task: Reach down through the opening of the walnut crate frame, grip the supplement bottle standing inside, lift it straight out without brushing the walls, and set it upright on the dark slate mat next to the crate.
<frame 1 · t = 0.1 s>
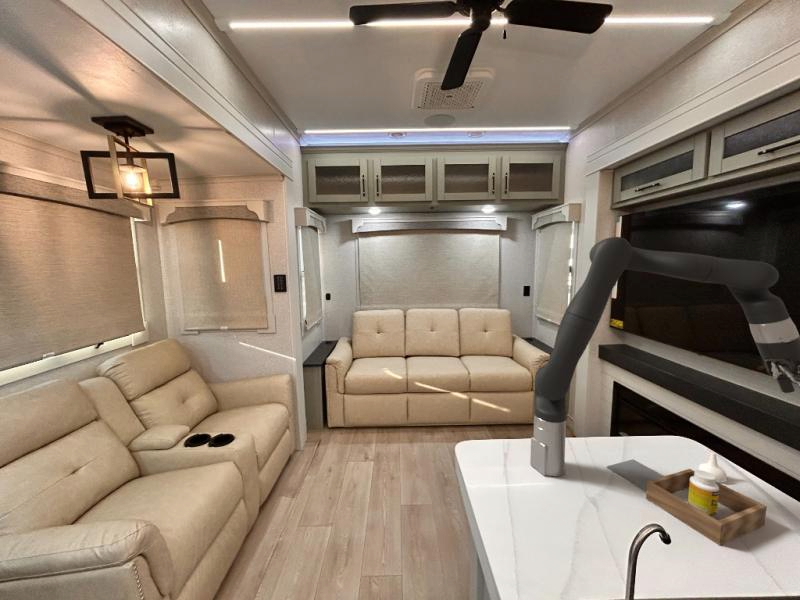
crate frame: (702, 511, 83), on the kitchen island
garlic bulb: (711, 478, 96), on the kitchen island
supplement bottle: (701, 512, 83), resting in crate frame
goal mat: (639, 474, 98), on the kitchen island
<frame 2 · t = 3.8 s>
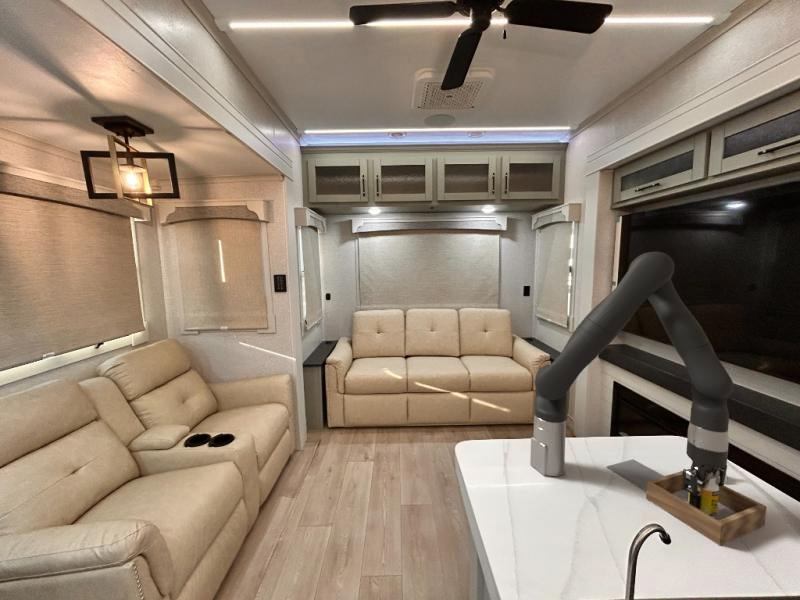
hand: (702, 503, 82), 2 cm above the kitchen island, tool pointing down, fingers closed on supplement bottle, 5 cm apart
supplement bottle: (702, 512, 83), resting in crate frame, touching gripper
everything else where it was.
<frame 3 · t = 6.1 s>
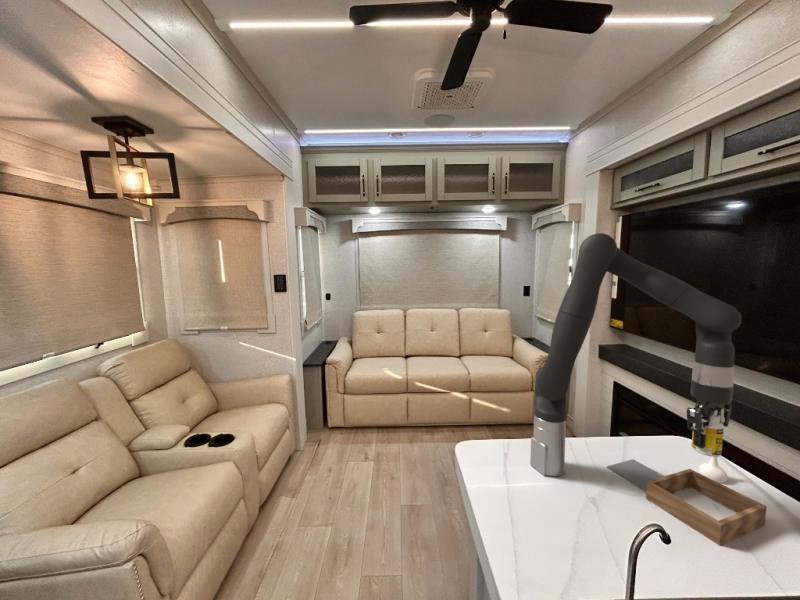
hand: (706, 444, 81), 18 cm above the kitchen island, tool pointing down, fingers closed on supplement bottle, 5 cm apart
supplement bottle: (705, 452, 81), point 16 cm above the kitchen island, touching gripper
everything else where it was.
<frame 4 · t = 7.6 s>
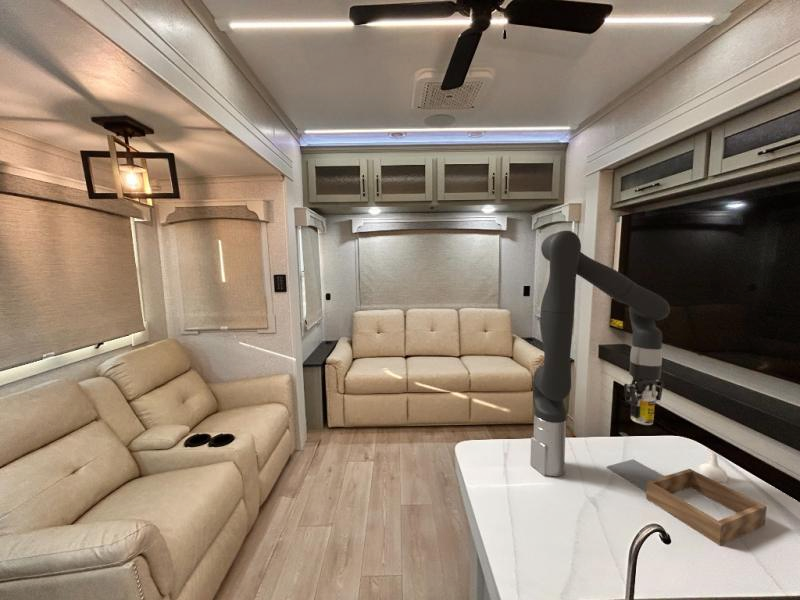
hand: (642, 415, 96), 19 cm above the kitchen island, tool pointing down, fingers closed on supplement bottle, 5 cm apart
supplement bottle: (641, 422, 96), point 17 cm above the kitchen island, touching gripper
everything else where it was.
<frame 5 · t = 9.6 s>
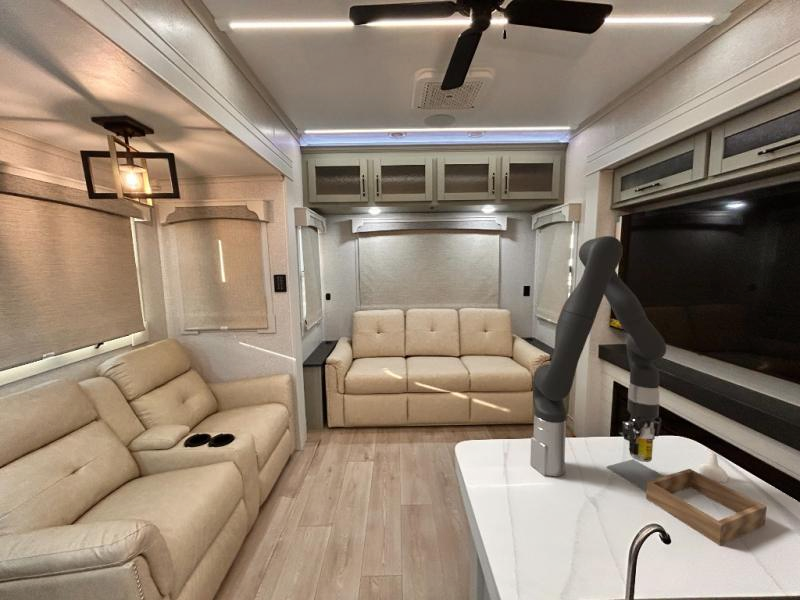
hand: (640, 451, 97), 8 cm above the kitchen island, tool pointing down, fingers closed on supplement bottle, 5 cm apart
supplement bottle: (640, 458, 97), point 5 cm above the kitchen island, touching gripper
everything else where it was.
when the fingers open (4 cm above the kitchen island, at t = 11.3 s): supplement bottle drops 1 cm, resting on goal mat.
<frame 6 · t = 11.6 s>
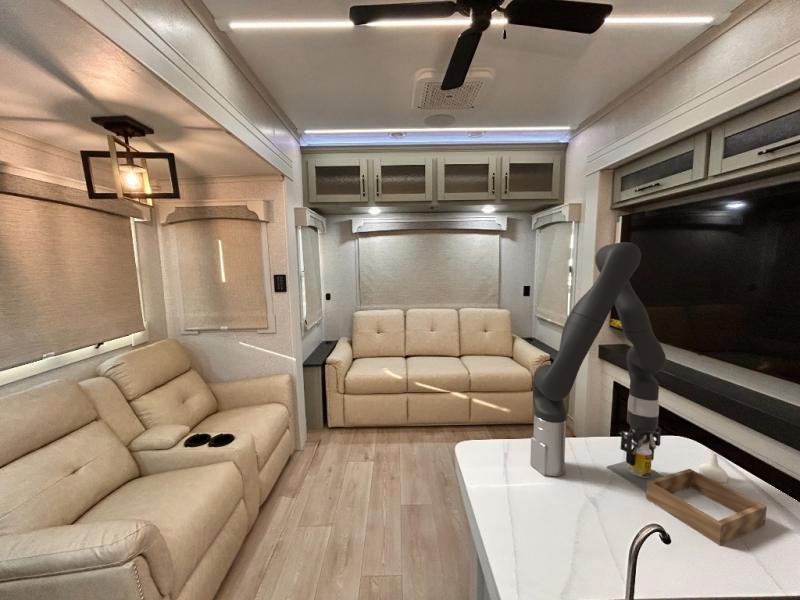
hand: (639, 461, 97), 4 cm above the kitchen island, tool pointing down, fingers open, 7 cm apart
supplement bottle: (639, 473, 98), resting on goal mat
everything else where it was.
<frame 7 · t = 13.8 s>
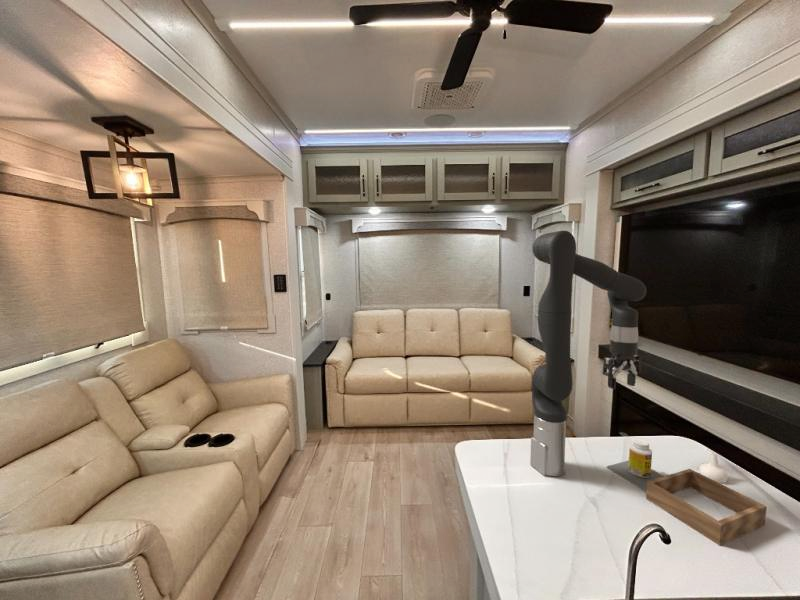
hand: (621, 386, 106), 25 cm above the kitchen island, tool pointing down, fingers open, 8 cm apart
nothing on the kitchen island moved.
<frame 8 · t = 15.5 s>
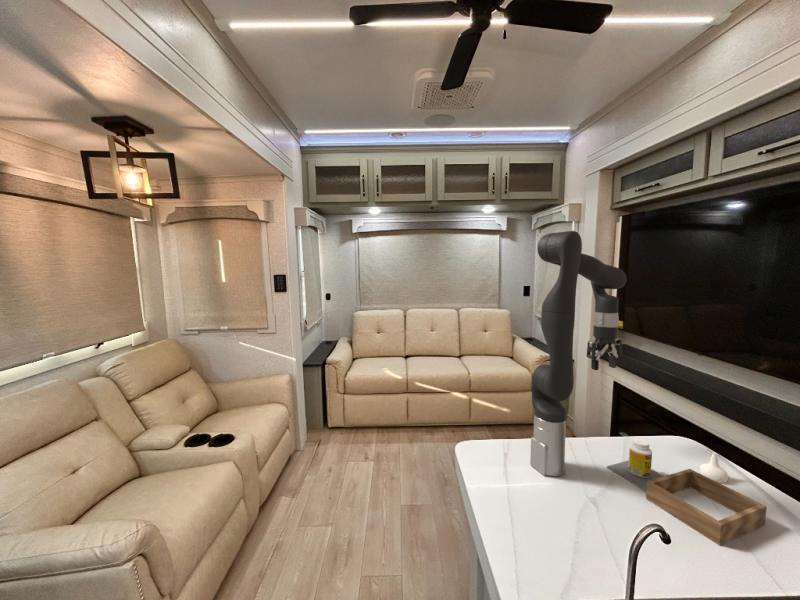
hand: (603, 368, 114), 28 cm above the kitchen island, tool pointing down, fingers open, 8 cm apart
nothing on the kitchen island moved.
at the end: supplement bottle inside the target area on the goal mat (0.2 cm from its centre), point 0.2 cm above the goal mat's base; supplement bottle tilted 0°; supplement bottle touching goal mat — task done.
